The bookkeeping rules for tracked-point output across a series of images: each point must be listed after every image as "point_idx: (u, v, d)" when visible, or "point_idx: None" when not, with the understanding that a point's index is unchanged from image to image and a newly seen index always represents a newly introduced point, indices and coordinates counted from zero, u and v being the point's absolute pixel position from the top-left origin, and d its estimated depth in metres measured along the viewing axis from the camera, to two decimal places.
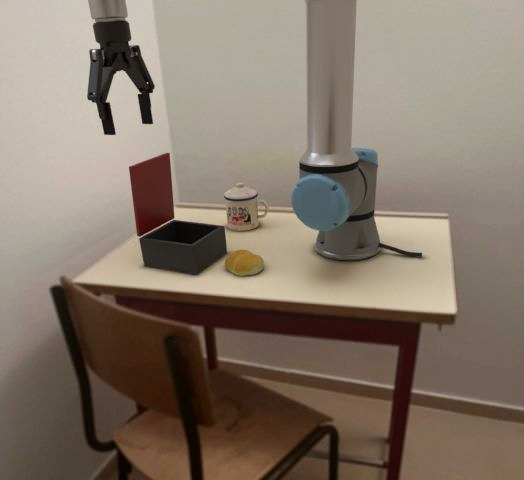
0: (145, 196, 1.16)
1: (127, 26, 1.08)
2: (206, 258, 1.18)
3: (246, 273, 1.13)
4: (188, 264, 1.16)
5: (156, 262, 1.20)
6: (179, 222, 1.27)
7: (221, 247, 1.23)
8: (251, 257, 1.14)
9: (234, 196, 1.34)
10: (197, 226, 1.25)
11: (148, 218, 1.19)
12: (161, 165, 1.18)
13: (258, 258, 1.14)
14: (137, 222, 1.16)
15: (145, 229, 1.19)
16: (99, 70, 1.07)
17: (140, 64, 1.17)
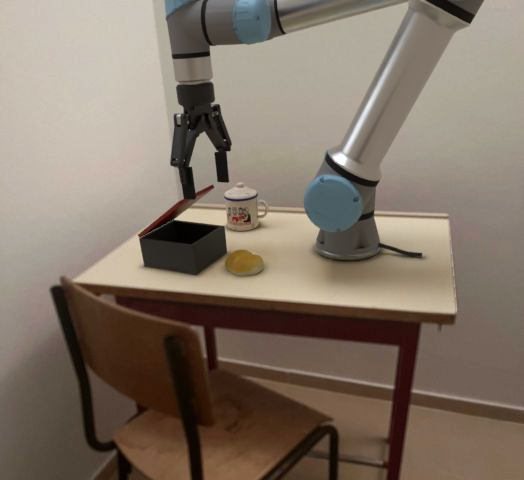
0: (169, 216, 1.15)
1: (212, 88, 1.02)
2: (206, 258, 1.18)
3: (246, 273, 1.13)
4: (188, 264, 1.16)
5: (156, 262, 1.20)
6: (179, 222, 1.27)
7: (221, 247, 1.23)
8: (251, 257, 1.14)
9: (234, 196, 1.34)
10: (197, 226, 1.25)
11: (157, 226, 1.19)
12: (200, 196, 1.17)
13: (258, 258, 1.14)
14: (147, 230, 1.16)
15: (148, 232, 1.19)
16: (184, 135, 1.01)
17: (220, 123, 1.11)
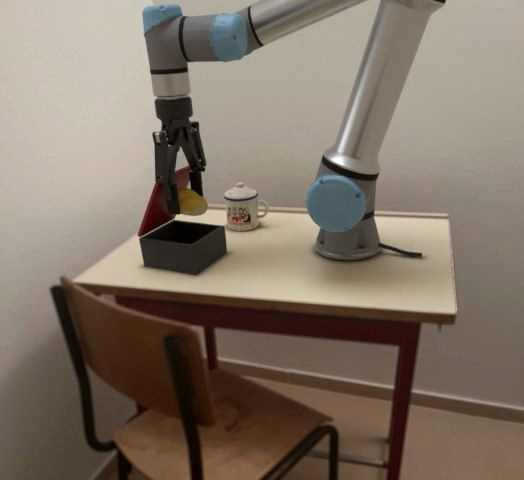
0: (159, 204, 1.15)
1: (190, 103, 1.04)
2: (206, 258, 1.18)
3: (188, 213, 1.12)
4: (188, 264, 1.16)
5: (156, 262, 1.20)
6: (179, 222, 1.27)
7: (221, 247, 1.23)
8: (196, 198, 1.13)
9: (234, 196, 1.34)
10: (197, 226, 1.25)
11: (153, 221, 1.19)
12: (184, 177, 1.17)
13: (203, 200, 1.14)
14: (143, 225, 1.16)
15: (147, 231, 1.19)
16: (164, 153, 1.04)
17: (196, 140, 1.13)
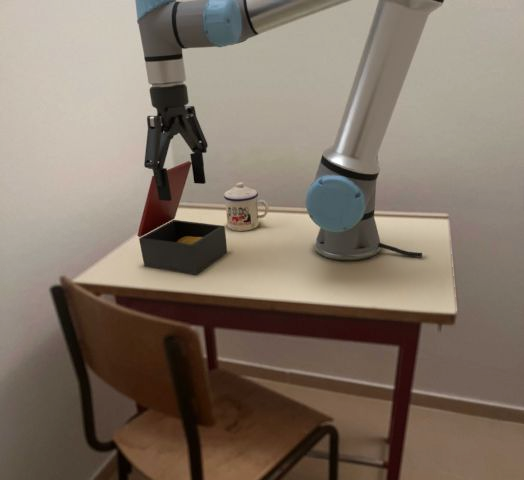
0: (157, 202, 1.15)
1: (185, 90, 1.03)
2: (206, 258, 1.18)
3: None
4: (188, 264, 1.16)
5: (156, 262, 1.20)
6: (179, 222, 1.27)
7: (221, 247, 1.23)
8: (195, 237, 1.19)
9: (234, 196, 1.34)
10: (197, 226, 1.25)
11: (152, 221, 1.19)
12: (180, 174, 1.17)
13: None
14: (142, 224, 1.16)
15: (146, 230, 1.19)
16: (157, 137, 1.02)
17: (194, 125, 1.12)
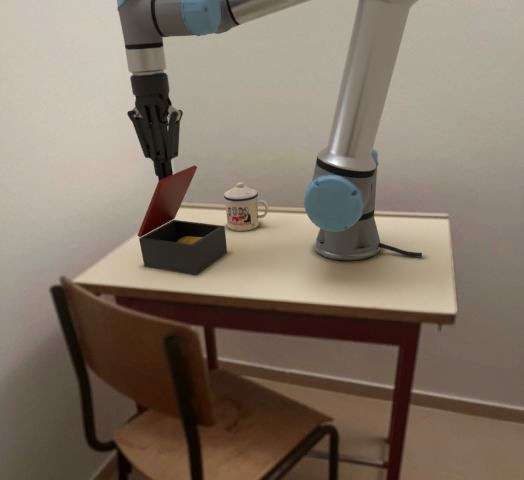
0: (160, 204, 1.15)
1: (141, 81, 1.02)
2: (206, 258, 1.18)
3: None
4: (188, 264, 1.16)
5: (156, 262, 1.20)
6: (179, 222, 1.27)
7: (221, 247, 1.23)
8: (195, 237, 1.19)
9: (234, 196, 1.34)
10: (197, 226, 1.25)
11: (153, 222, 1.19)
12: (185, 178, 1.17)
13: None
14: (143, 225, 1.16)
15: (147, 231, 1.19)
16: (136, 130, 1.11)
17: None
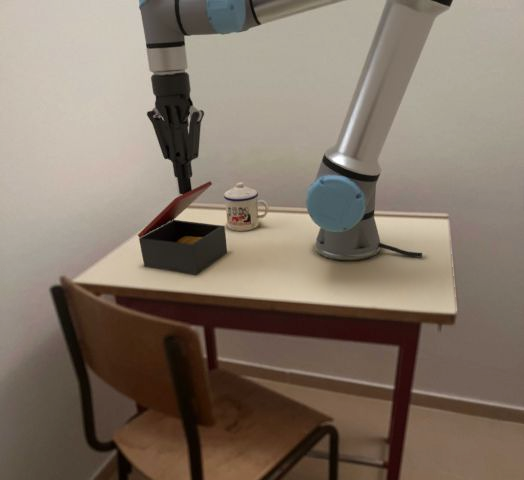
0: (168, 214, 1.15)
1: (162, 81, 0.99)
2: (206, 258, 1.18)
3: None
4: (188, 264, 1.16)
5: (156, 262, 1.20)
6: (179, 222, 1.27)
7: (221, 247, 1.23)
8: (195, 237, 1.19)
9: (234, 196, 1.34)
10: (197, 226, 1.25)
11: (156, 225, 1.19)
12: (198, 193, 1.17)
13: None
14: (146, 229, 1.16)
15: (147, 232, 1.19)
16: (155, 131, 1.09)
17: None
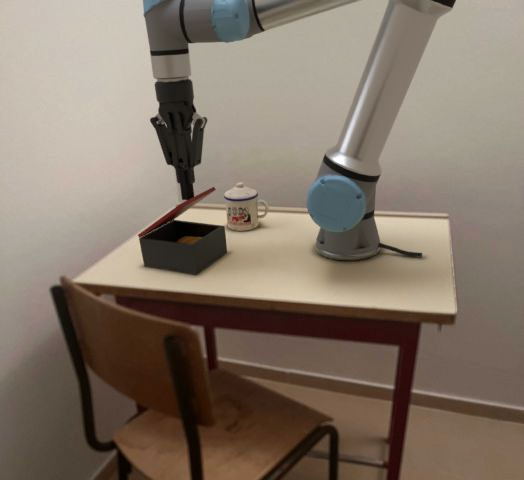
0: (170, 217, 1.15)
1: (166, 88, 1.00)
2: (206, 258, 1.18)
3: None
4: (188, 264, 1.16)
5: (156, 262, 1.20)
6: (179, 222, 1.27)
7: (221, 247, 1.23)
8: (195, 237, 1.19)
9: (234, 196, 1.34)
10: (197, 226, 1.25)
11: (157, 226, 1.19)
12: (202, 198, 1.17)
13: None
14: (147, 230, 1.16)
15: (148, 232, 1.19)
16: (158, 137, 1.09)
17: None
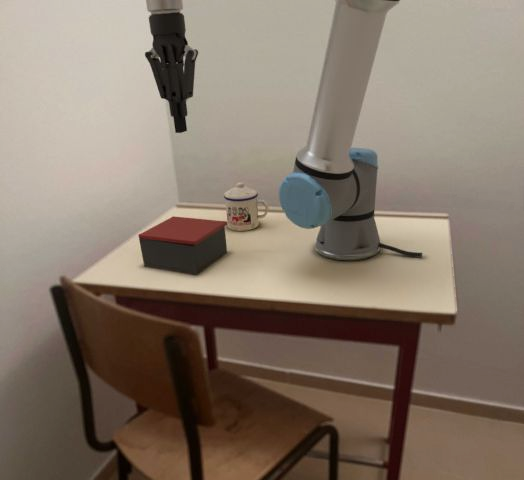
0: None
1: (159, 20, 1.07)
2: (206, 258, 1.18)
3: None
4: (188, 264, 1.16)
5: (156, 262, 1.20)
6: None
7: (221, 247, 1.23)
8: None
9: (234, 196, 1.34)
10: None
11: None
12: None
13: None
14: (150, 238, 1.17)
15: None
16: (153, 71, 1.16)
17: None
